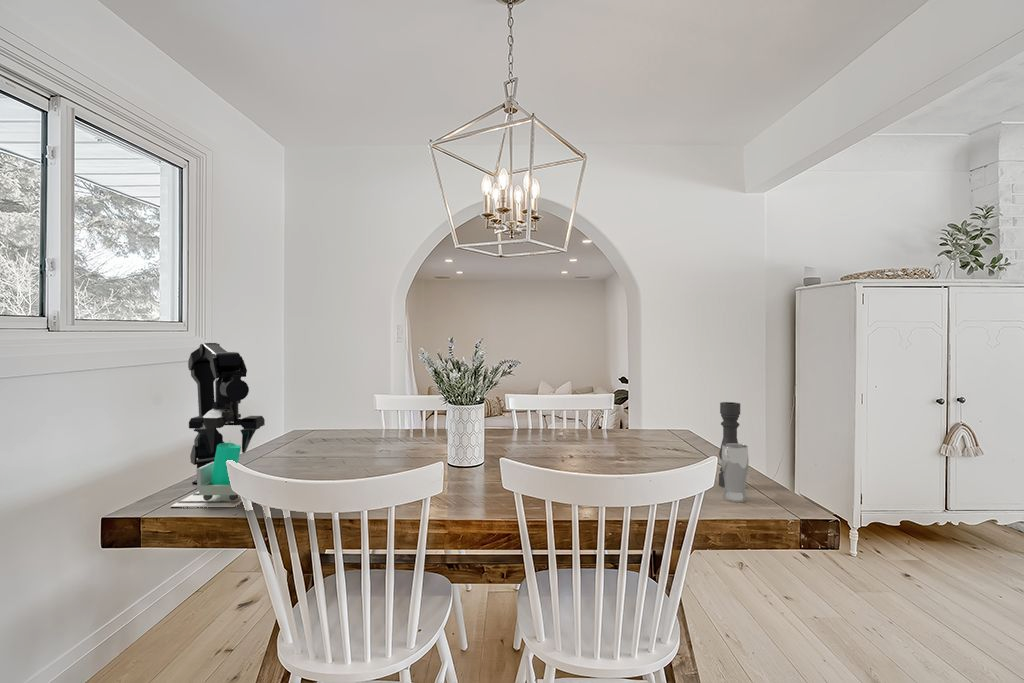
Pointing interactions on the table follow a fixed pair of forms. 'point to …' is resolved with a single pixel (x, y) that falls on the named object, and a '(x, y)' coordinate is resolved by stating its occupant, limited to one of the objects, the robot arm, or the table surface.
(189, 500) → the track
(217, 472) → the candle
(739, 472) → the beer glass
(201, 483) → the cart
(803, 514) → the table surface
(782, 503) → the table surface
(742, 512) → the table surface
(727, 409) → the candle holder
